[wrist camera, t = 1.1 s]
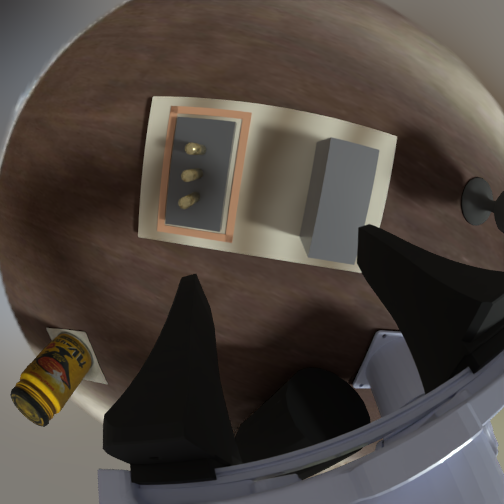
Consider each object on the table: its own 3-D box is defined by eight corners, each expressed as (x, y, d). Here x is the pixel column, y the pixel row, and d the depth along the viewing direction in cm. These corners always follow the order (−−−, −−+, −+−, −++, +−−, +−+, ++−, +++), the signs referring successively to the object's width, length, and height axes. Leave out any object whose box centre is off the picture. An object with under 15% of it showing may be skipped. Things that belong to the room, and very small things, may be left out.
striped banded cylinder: (200, 454, 42) (164, 485, 33) (309, 352, 28) (266, 407, 20) (240, 487, 39) (209, 521, 30) (377, 405, 25) (357, 473, 16)
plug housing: (355, 151, 20) (379, 150, 15) (337, 243, 23) (354, 265, 18) (316, 142, 20) (331, 137, 15) (299, 236, 23) (307, 257, 18)
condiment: (85, 330, 28) (30, 395, 17) (108, 383, 31) (70, 449, 20) (46, 326, 29) (-7, 379, 18) (69, 376, 32) (29, 431, 20)
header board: (392, 137, 20) (420, 133, 16) (363, 269, 24) (383, 294, 20) (157, 98, 20) (131, 86, 16) (142, 233, 24) (116, 251, 19)
